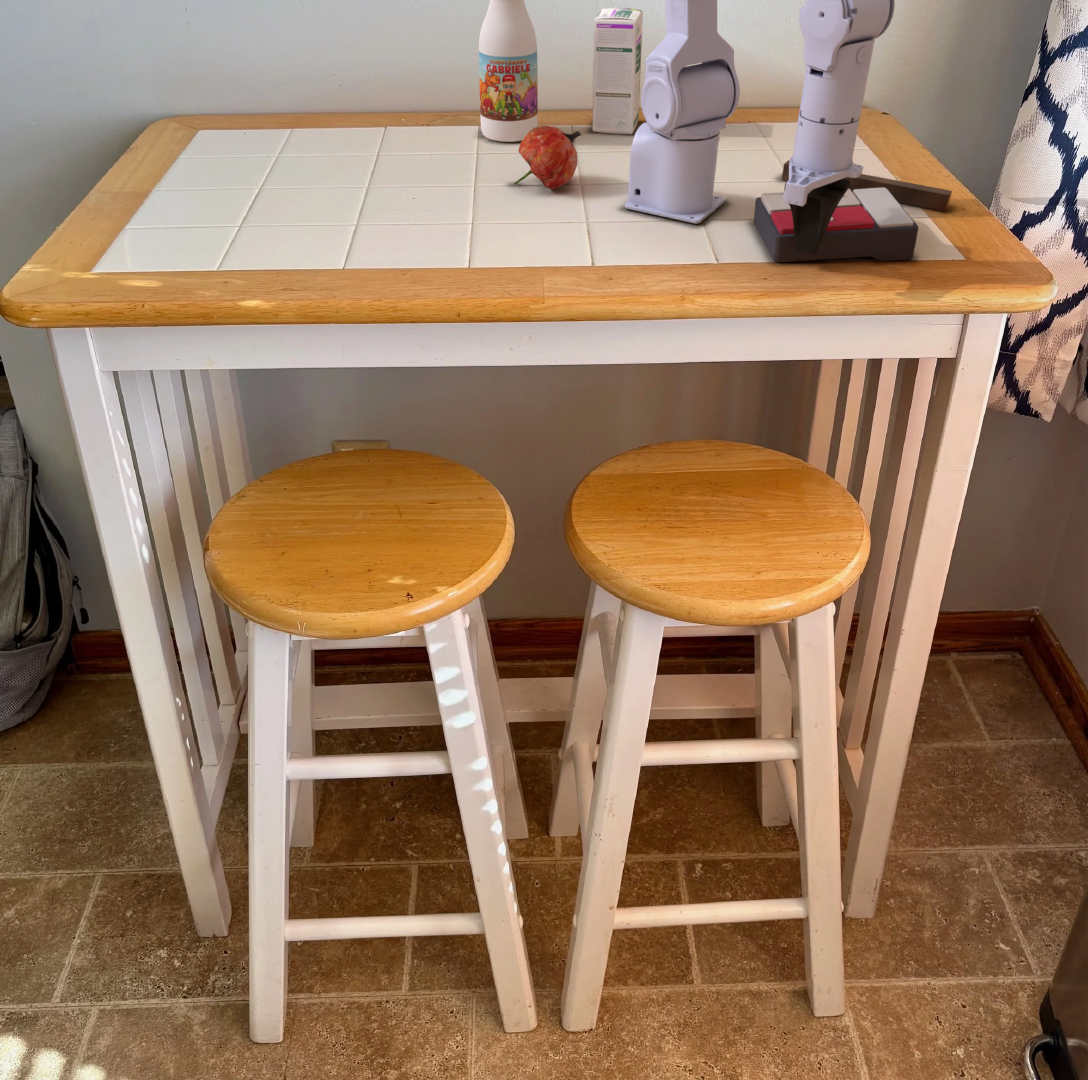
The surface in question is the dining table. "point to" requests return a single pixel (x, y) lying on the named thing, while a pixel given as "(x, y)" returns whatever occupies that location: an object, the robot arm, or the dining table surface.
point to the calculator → (842, 228)
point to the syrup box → (617, 70)
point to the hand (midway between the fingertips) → (806, 250)
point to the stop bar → (898, 190)
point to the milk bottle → (508, 72)
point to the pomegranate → (550, 155)
